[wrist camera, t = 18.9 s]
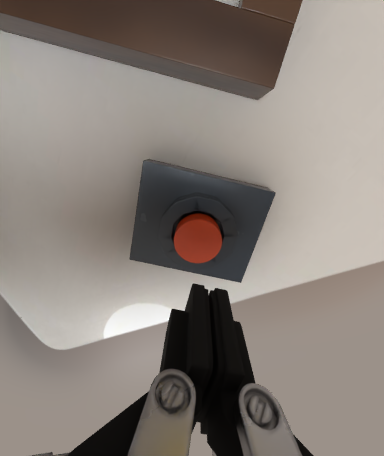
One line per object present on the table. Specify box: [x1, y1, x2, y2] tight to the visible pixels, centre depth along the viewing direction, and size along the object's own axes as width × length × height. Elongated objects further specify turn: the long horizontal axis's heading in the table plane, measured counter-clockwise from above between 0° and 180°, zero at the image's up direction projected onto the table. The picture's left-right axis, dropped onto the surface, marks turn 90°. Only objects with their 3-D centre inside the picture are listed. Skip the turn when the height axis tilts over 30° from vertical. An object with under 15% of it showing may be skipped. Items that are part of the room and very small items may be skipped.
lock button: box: [174, 213, 222, 263], centre depth 18 cm, size 4×4×2 cm
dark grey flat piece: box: [130, 159, 275, 283], centre depth 20 cm, size 12×10×4 cm
